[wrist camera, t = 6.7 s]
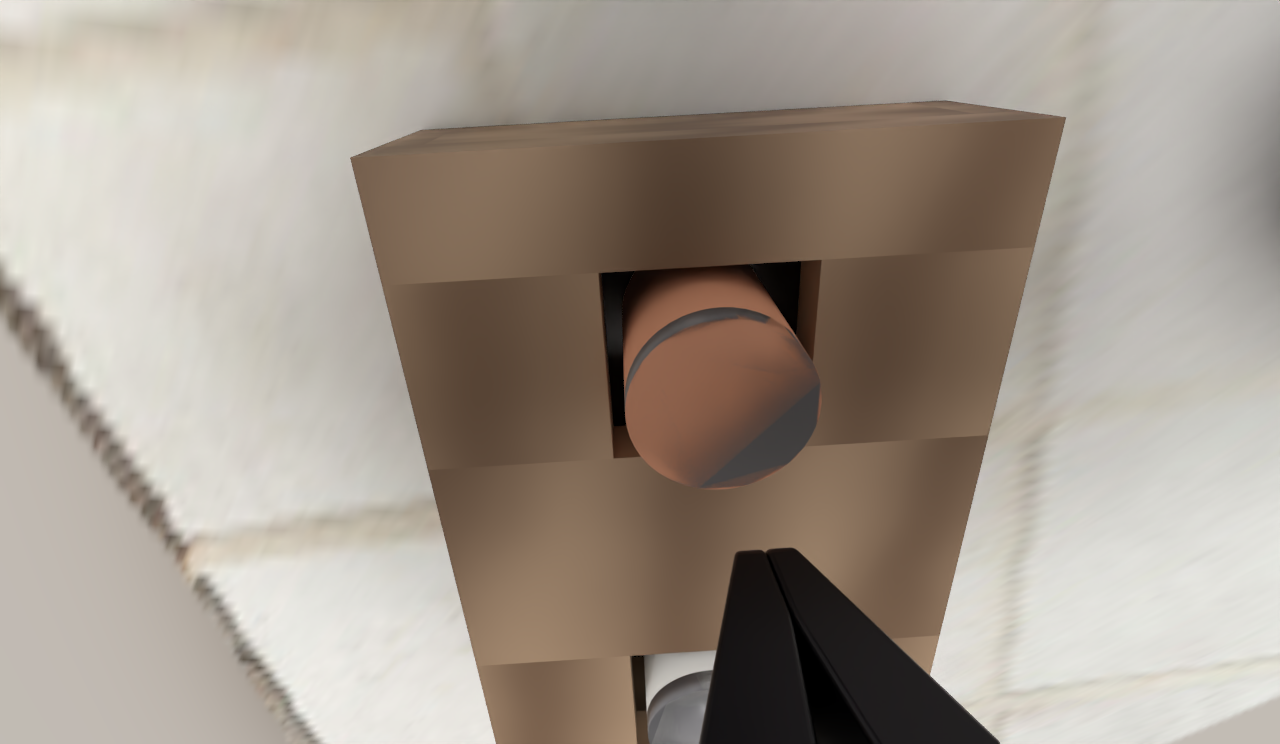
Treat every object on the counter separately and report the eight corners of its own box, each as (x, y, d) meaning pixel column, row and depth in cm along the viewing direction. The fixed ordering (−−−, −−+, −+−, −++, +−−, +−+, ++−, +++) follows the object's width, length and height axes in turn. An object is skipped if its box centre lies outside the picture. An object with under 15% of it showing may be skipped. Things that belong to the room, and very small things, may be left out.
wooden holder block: (944, 100, 17) (1065, 117, 12) (855, 658, 27) (904, 779, 22) (421, 129, 17) (350, 157, 12) (528, 680, 27) (511, 806, 22)
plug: (746, 550, 23) (782, 683, 18) (743, 626, 25) (775, 766, 20) (638, 557, 23) (645, 693, 18) (643, 632, 25) (650, 774, 20)
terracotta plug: (766, 236, 17) (830, 312, 12) (760, 369, 18) (813, 483, 14) (617, 245, 17) (618, 325, 12) (625, 378, 18) (630, 495, 14)
